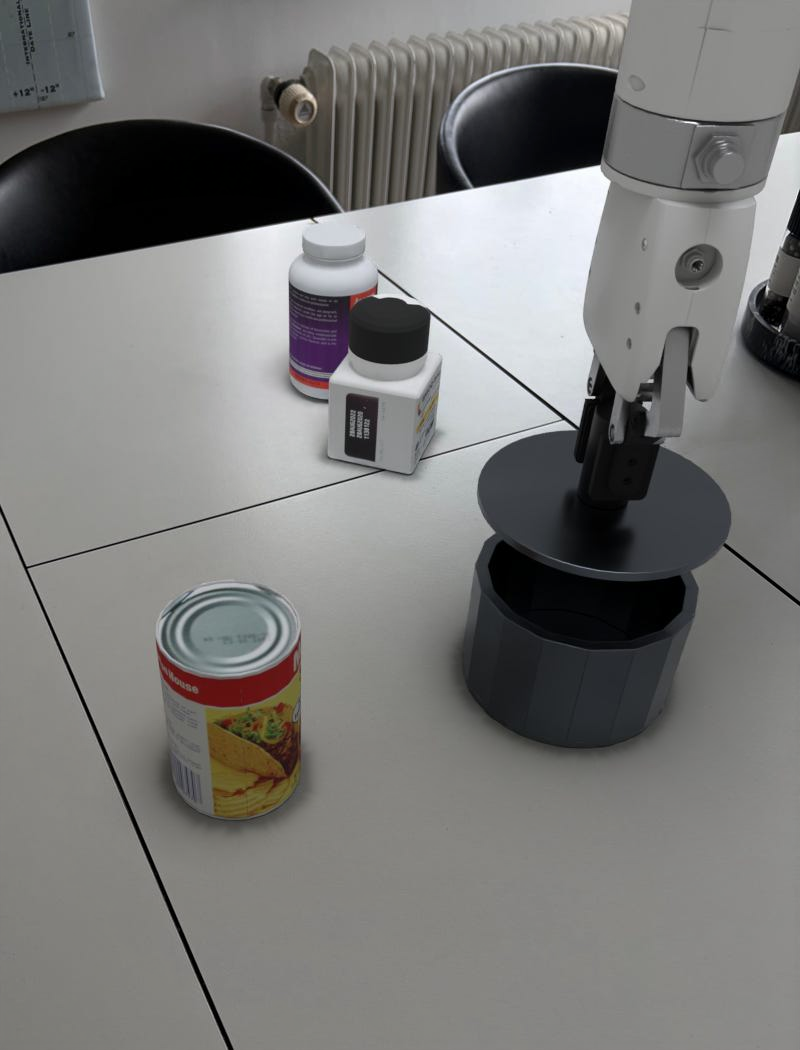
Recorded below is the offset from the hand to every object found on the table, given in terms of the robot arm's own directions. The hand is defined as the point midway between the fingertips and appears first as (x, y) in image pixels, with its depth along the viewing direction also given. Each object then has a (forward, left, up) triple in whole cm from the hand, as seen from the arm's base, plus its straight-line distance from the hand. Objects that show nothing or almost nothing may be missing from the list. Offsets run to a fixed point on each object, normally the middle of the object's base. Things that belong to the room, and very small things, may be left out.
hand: (608, 476), depth 60 cm
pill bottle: (+14, -40, -16) cm, 45 cm away
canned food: (+22, +8, -16) cm, 28 cm away
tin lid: (0, 0, -2) cm, 2 cm away
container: (+10, -29, -16) cm, 35 cm away
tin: (0, 0, -16) cm, 16 cm away
